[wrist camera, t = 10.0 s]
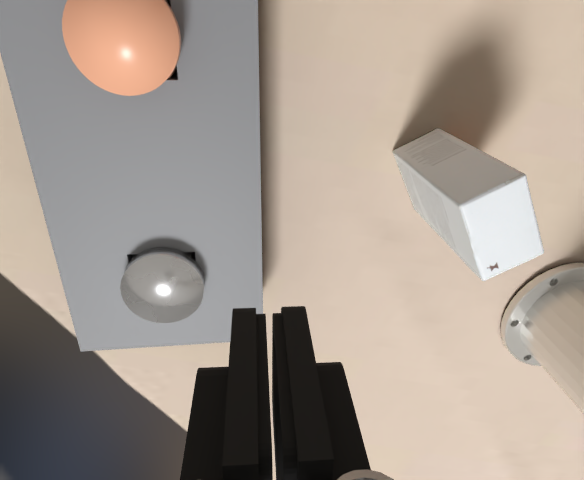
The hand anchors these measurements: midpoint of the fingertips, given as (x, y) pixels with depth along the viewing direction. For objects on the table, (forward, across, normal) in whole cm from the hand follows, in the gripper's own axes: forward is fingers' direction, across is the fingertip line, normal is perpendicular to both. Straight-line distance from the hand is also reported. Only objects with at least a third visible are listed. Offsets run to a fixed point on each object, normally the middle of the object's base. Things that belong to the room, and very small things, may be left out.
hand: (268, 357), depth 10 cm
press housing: (+25, +7, +2) cm, 26 cm away
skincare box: (+26, -14, +3) cm, 30 cm away
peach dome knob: (+23, +7, -6) cm, 25 cm away
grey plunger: (+24, +7, +10) cm, 27 cm away
